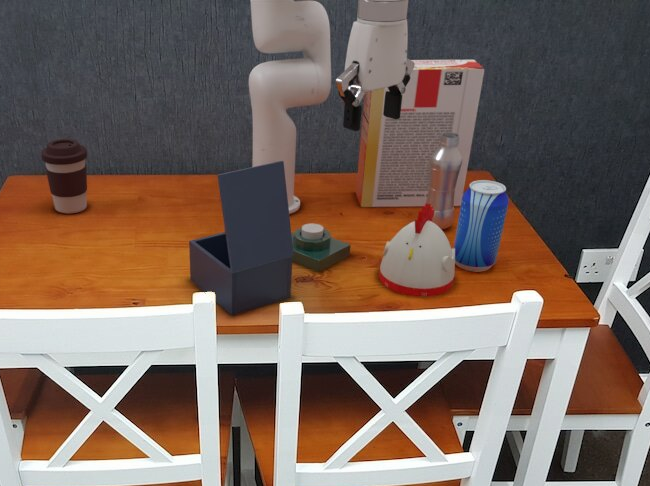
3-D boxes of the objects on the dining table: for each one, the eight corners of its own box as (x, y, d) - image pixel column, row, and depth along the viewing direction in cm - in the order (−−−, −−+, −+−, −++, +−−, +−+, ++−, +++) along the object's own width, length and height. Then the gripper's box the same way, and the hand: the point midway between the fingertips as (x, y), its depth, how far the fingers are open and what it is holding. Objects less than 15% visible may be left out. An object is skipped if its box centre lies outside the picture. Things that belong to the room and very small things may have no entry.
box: (190, 280, 150) (188, 240, 146) (246, 265, 156) (246, 226, 151) (231, 315, 139) (231, 274, 135) (290, 298, 144) (292, 257, 140)
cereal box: (452, 192, 186) (474, 59, 169) (460, 205, 179) (484, 68, 162) (355, 193, 186) (367, 60, 169) (360, 206, 179) (374, 69, 162)
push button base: (272, 253, 160) (273, 233, 157) (304, 238, 166) (305, 218, 163) (318, 272, 153) (319, 251, 150) (349, 255, 159) (351, 235, 156)
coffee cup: (40, 213, 177) (30, 147, 169) (64, 197, 185) (55, 133, 176) (78, 219, 174) (70, 153, 166) (100, 203, 182) (94, 139, 173)
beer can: (487, 277, 151) (504, 198, 142) (445, 267, 154) (458, 189, 145) (500, 260, 156) (516, 183, 147) (459, 251, 160) (472, 175, 151)
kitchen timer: (367, 284, 148) (375, 210, 140) (394, 256, 158) (404, 185, 150) (438, 303, 142) (451, 226, 134) (462, 273, 152) (476, 200, 144)
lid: (217, 174, 129) (219, 174, 128) (281, 160, 134) (283, 160, 133) (230, 271, 135) (232, 272, 134) (291, 254, 140) (293, 255, 139)
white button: (296, 236, 157) (297, 228, 156) (310, 229, 159) (311, 221, 158) (313, 242, 154) (314, 234, 153) (327, 235, 157) (328, 227, 156)
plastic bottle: (452, 234, 167) (468, 141, 155) (420, 231, 168) (433, 139, 157) (451, 222, 172) (466, 131, 161) (420, 219, 173) (433, 129, 162)
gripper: (400, 1, 127) (389, 108, 137) (324, 14, 118) (318, 128, 128) (437, 7, 122) (423, 118, 132) (361, 21, 113) (352, 139, 123)
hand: (371, 123), depth 130 cm, fingers open, 9 cm apart
